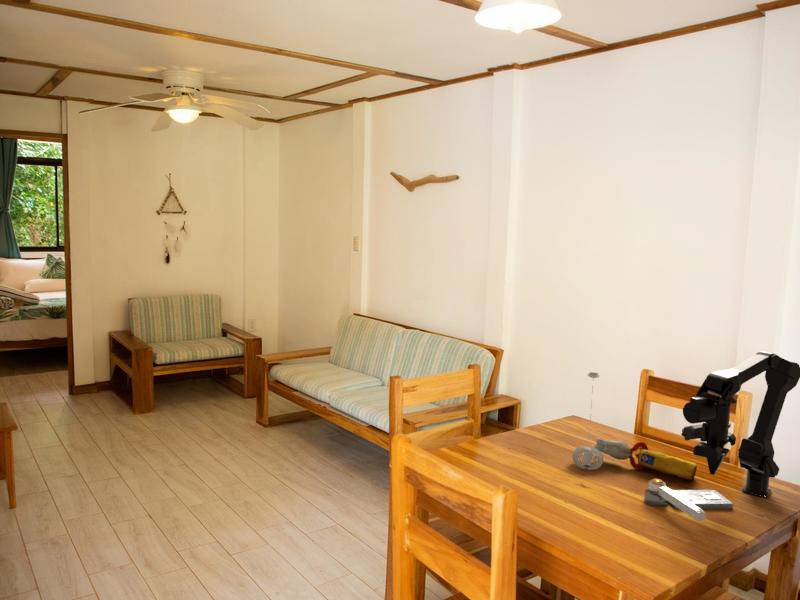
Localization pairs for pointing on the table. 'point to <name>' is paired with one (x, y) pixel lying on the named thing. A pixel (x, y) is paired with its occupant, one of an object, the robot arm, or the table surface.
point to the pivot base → (655, 499)
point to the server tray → (705, 499)
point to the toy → (648, 458)
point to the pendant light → (588, 449)
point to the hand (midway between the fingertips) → (712, 474)
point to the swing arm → (676, 499)
